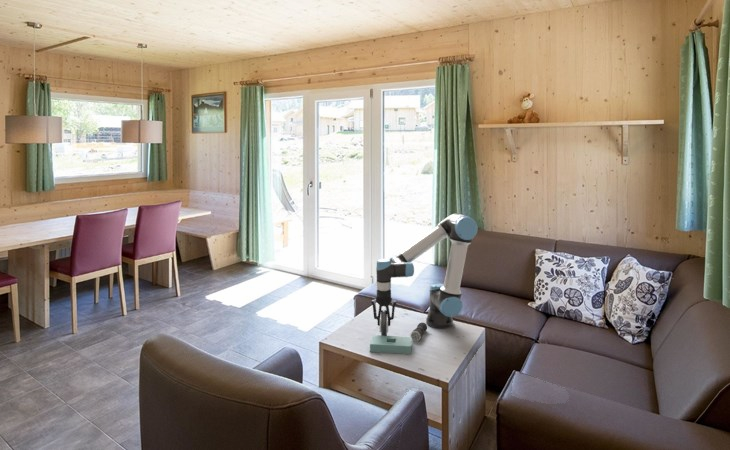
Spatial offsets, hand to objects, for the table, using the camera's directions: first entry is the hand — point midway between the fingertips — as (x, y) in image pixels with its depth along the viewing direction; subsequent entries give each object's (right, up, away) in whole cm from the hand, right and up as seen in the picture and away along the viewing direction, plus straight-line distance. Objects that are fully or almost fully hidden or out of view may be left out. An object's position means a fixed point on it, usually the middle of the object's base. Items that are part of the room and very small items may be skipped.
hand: (384, 331), depth 235 cm
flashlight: (+19, -3, +2) cm, 19 cm away
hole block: (+3, -5, -13) cm, 14 cm away
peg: (0, -3, +1) cm, 3 cm away
